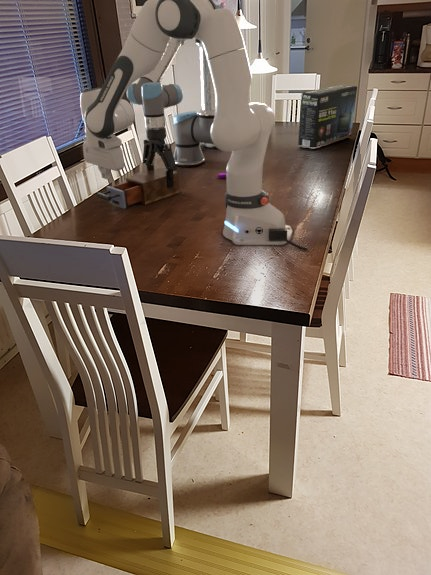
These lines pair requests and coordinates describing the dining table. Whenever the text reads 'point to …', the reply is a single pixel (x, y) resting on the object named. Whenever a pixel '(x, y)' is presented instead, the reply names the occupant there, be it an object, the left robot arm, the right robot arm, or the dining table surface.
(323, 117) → the router box
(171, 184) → the left robot arm
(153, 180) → the cabinet
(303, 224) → the dining table surface
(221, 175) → the handgun
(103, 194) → the drawer
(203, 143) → the fossil
